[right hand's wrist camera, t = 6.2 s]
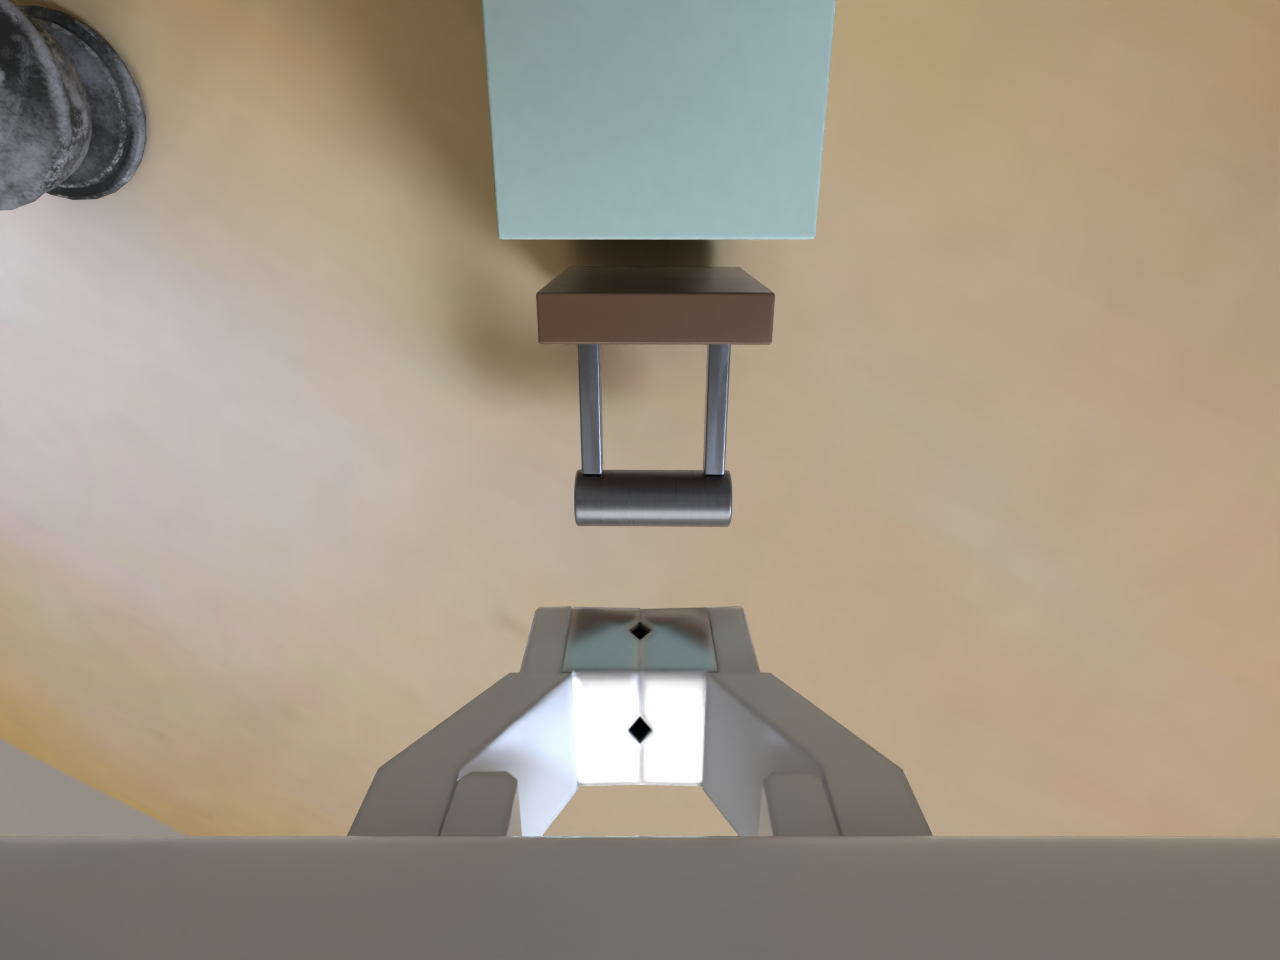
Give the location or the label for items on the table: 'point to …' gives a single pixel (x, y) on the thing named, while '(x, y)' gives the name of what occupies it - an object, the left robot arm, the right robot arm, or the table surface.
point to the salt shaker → (63, 110)
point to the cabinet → (657, 117)
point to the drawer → (654, 314)
